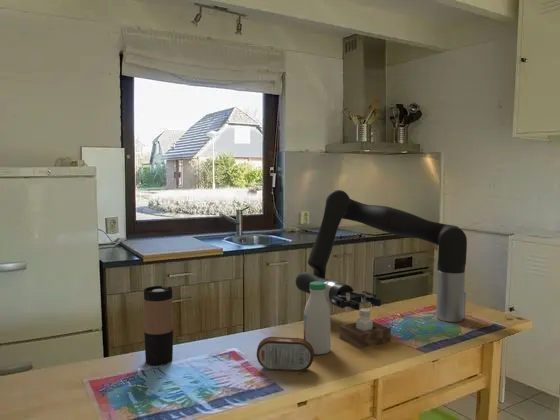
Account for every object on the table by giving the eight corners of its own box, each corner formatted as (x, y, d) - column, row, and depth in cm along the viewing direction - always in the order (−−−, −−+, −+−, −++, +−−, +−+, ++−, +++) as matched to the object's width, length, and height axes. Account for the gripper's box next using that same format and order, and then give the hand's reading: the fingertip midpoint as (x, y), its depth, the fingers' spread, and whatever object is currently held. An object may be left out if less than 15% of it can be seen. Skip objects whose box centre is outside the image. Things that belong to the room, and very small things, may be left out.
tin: (313, 368, 124) (314, 337, 123) (313, 373, 121) (313, 341, 120) (257, 366, 125) (257, 335, 125) (255, 370, 122) (255, 339, 121)
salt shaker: (354, 339, 145) (355, 309, 145) (362, 336, 148) (363, 307, 147) (365, 343, 143) (366, 312, 142) (372, 339, 145) (374, 310, 145)
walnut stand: (368, 332, 153) (369, 319, 152) (390, 341, 144) (390, 328, 144) (339, 338, 147) (339, 325, 146) (360, 348, 138) (360, 335, 138)
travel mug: (148, 368, 123) (146, 293, 122) (142, 358, 130) (140, 287, 128) (176, 363, 127) (175, 290, 125) (169, 353, 133) (168, 284, 132)
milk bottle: (335, 350, 137) (336, 282, 135) (319, 357, 131) (319, 287, 130) (314, 343, 142) (315, 278, 140) (298, 350, 136) (298, 282, 135)
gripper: (319, 284, 153) (351, 295, 139) (354, 280, 160) (387, 290, 146) (319, 307, 154) (350, 320, 140) (353, 301, 161) (386, 313, 147)
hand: (369, 304), depth 143 cm, fingers open, 8 cm apart
